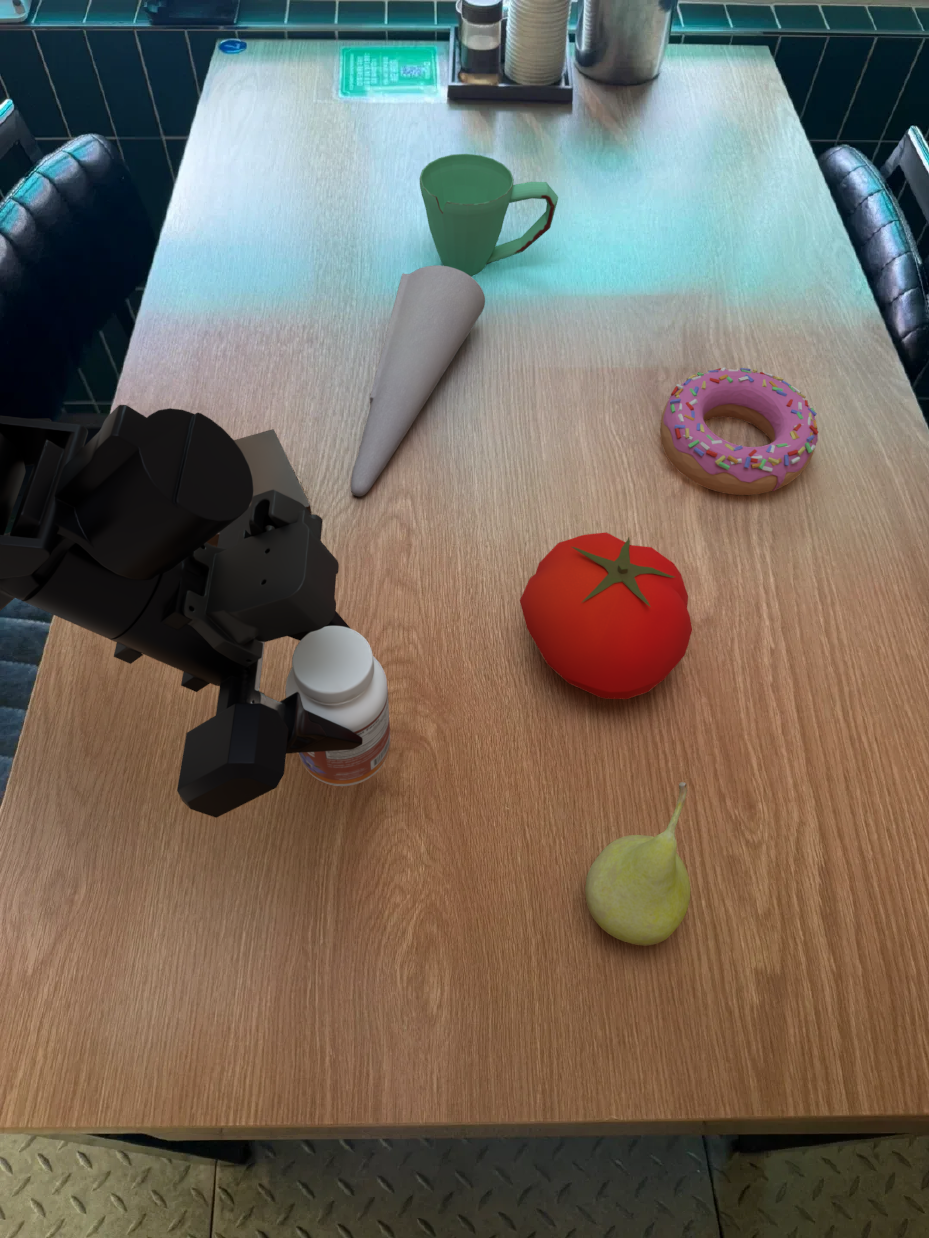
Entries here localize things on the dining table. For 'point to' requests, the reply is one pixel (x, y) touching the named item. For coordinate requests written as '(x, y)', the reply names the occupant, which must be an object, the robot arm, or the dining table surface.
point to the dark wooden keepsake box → (269, 468)
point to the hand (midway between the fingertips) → (360, 697)
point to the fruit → (640, 885)
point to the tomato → (608, 615)
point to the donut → (749, 401)
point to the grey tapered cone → (414, 359)
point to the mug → (477, 209)
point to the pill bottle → (343, 701)
